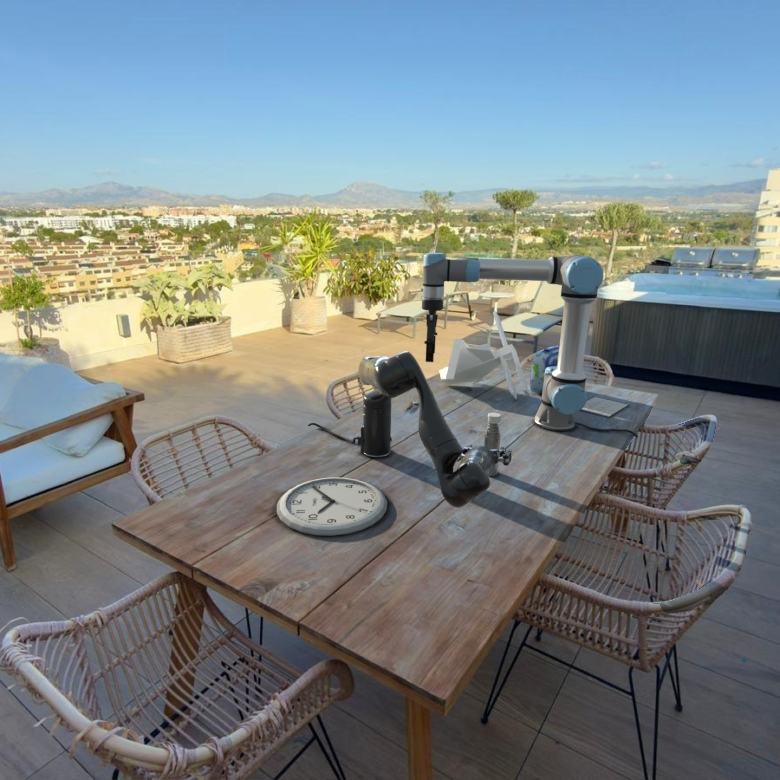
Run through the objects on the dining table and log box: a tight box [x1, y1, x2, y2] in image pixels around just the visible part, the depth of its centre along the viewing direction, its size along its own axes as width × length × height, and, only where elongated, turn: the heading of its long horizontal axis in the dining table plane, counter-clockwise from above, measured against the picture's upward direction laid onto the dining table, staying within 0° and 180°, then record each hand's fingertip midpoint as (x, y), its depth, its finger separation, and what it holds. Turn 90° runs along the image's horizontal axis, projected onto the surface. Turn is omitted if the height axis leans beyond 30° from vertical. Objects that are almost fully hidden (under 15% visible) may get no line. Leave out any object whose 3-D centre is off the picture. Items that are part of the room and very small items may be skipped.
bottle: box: [483, 422, 501, 477], centre depth 161 cm, size 5×5×19 cm
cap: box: [487, 412, 502, 425], centre depth 158 cm, size 4×4×2 cm
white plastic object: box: [438, 310, 531, 400], centre depth 245 cm, size 37×45×31 cm
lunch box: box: [529, 345, 560, 394], centre depth 244 cm, size 26×11×21 cm, turn 135°
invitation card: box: [580, 396, 629, 418], centre depth 226 cm, size 21×1×15 cm
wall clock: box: [276, 476, 388, 537], centre depth 142 cm, size 30×2×30 cm
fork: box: [405, 395, 420, 411], centre depth 222 cm, size 3×16×2 cm, turn 160°
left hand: (486, 449), depth 143 cm, fingers open, 8 cm apart
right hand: (430, 357), depth 190 cm, fingers open, 13 cm apart
